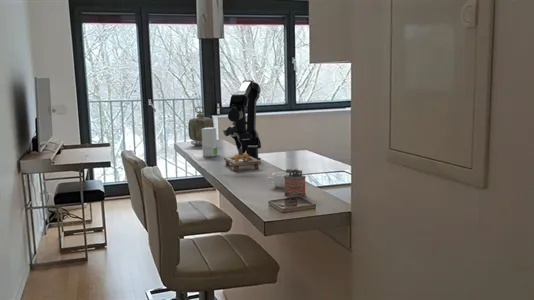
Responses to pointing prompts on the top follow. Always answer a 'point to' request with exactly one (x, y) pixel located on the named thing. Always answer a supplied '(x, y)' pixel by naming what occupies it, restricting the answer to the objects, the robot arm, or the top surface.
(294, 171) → the lighter
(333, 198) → the top surface
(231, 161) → the wooden frame with rod
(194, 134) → the tabletop clock
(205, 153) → the skincare box
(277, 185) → the teacup
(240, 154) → the yellow block
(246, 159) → the silver metal rod
